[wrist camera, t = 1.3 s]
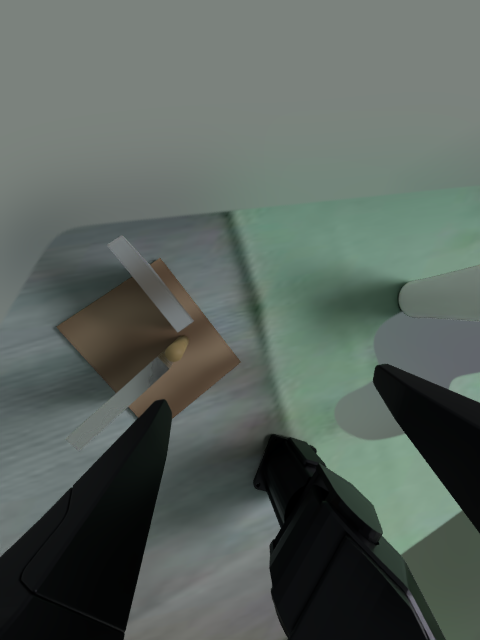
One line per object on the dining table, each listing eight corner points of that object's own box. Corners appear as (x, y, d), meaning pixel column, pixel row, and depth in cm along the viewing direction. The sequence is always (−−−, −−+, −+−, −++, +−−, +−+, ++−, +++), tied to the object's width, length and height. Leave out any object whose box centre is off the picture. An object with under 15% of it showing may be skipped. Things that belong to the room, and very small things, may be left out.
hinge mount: (239, 360, 23) (262, 385, 15) (154, 431, 21) (125, 503, 13) (161, 259, 21) (136, 221, 13) (60, 326, 20) (-45, 332, 11)
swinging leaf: (172, 343, 21) (157, 356, 14) (180, 351, 21) (169, 368, 14) (114, 394, 20) (64, 439, 12) (123, 402, 20) (79, 451, 13)
